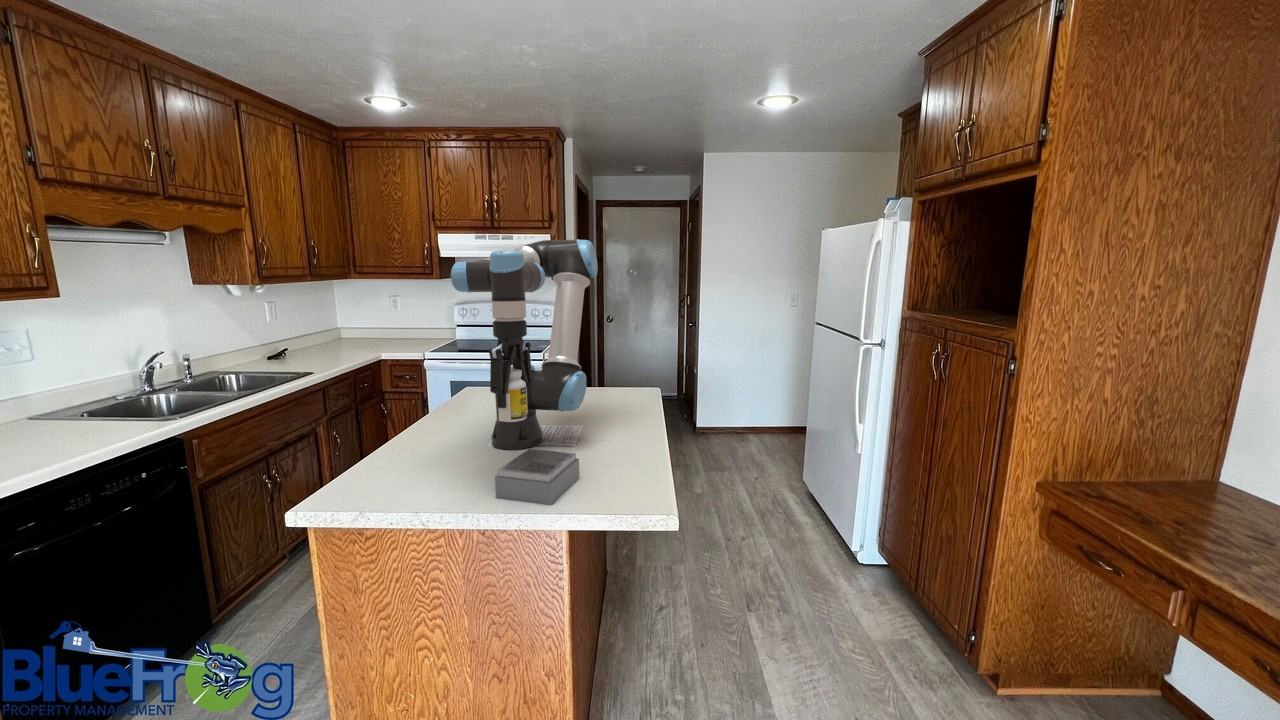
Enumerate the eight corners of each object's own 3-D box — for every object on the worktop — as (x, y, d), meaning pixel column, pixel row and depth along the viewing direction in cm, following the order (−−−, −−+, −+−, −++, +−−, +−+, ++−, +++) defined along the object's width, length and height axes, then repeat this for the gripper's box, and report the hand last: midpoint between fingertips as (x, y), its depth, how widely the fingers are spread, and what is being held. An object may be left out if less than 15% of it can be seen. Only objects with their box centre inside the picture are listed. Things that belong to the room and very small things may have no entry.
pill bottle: (519, 423, 120) (517, 373, 118) (494, 421, 121) (491, 372, 119) (532, 416, 126) (530, 368, 124) (507, 414, 128) (505, 367, 126)
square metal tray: (522, 471, 136) (521, 447, 135) (579, 477, 131) (578, 453, 130) (488, 496, 121) (486, 469, 120) (551, 504, 116) (550, 477, 115)
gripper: (518, 316, 130) (522, 406, 134) (468, 322, 112) (474, 426, 116) (545, 316, 128) (548, 408, 131) (498, 323, 110) (503, 429, 113)
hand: (513, 417), depth 124 cm, fingers closed on pill bottle, 6 cm apart
